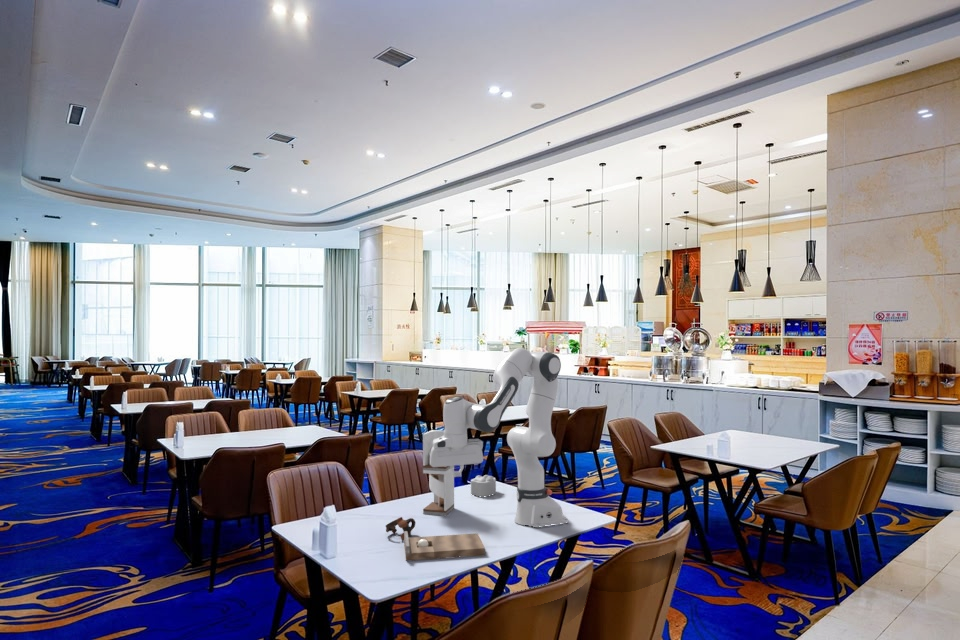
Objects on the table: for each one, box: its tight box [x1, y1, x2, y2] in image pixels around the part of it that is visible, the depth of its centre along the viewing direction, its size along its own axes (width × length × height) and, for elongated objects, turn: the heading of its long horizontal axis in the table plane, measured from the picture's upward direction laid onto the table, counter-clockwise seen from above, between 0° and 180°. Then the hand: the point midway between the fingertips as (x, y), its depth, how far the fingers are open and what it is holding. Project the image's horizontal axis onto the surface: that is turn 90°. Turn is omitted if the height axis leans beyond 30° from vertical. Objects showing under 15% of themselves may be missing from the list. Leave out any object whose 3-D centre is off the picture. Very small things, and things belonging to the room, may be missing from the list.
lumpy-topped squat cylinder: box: [470, 474, 497, 498], centre depth 287 cm, size 10×13×9 cm
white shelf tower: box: [422, 429, 455, 516], centre depth 259 cm, size 11×11×35 cm
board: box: [403, 531, 486, 562], centre depth 211 cm, size 28×16×5 cm, turn 100°
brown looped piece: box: [385, 516, 416, 541], centre depth 227 cm, size 12×10×8 cm
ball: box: [417, 539, 428, 547], centre depth 209 cm, size 4×4×4 cm
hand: (457, 476), depth 219 cm, fingers closed
